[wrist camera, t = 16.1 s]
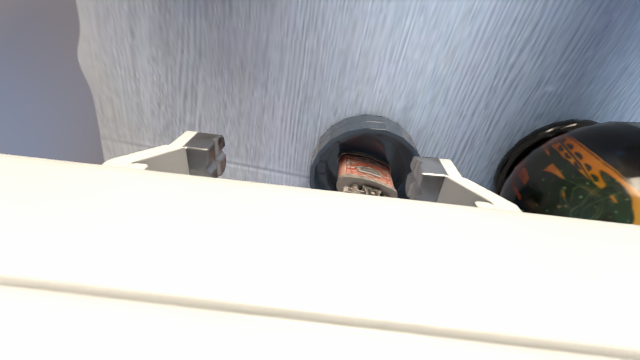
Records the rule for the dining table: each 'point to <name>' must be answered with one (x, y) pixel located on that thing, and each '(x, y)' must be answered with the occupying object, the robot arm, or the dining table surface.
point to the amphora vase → (575, 171)
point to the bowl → (363, 150)
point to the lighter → (364, 175)
